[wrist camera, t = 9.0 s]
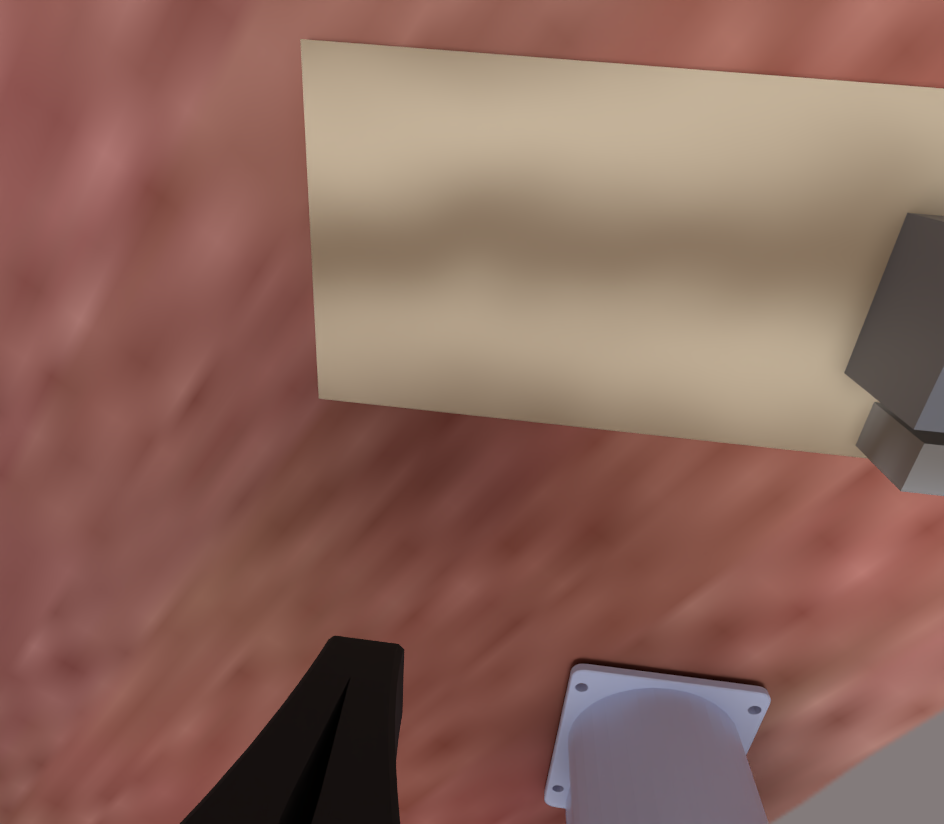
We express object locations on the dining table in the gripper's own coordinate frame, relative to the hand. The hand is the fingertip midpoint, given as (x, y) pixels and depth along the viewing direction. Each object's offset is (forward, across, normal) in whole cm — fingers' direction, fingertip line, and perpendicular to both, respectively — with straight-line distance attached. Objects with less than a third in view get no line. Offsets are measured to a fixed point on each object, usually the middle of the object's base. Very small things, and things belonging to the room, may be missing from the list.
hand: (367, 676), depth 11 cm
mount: (+10, -12, -6) cm, 17 cm away
